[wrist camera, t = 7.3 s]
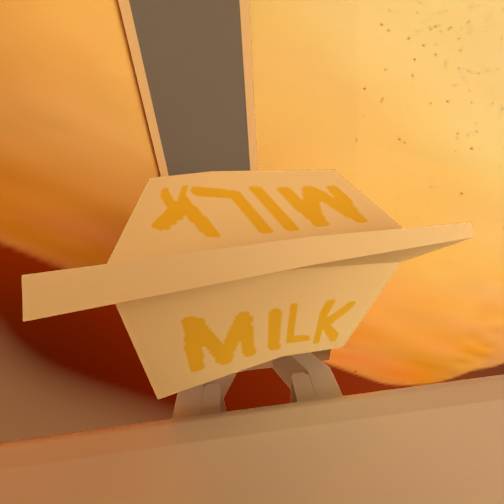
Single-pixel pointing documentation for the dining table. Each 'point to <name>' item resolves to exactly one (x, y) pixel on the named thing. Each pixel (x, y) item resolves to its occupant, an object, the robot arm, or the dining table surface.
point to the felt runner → (195, 82)
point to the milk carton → (240, 270)
